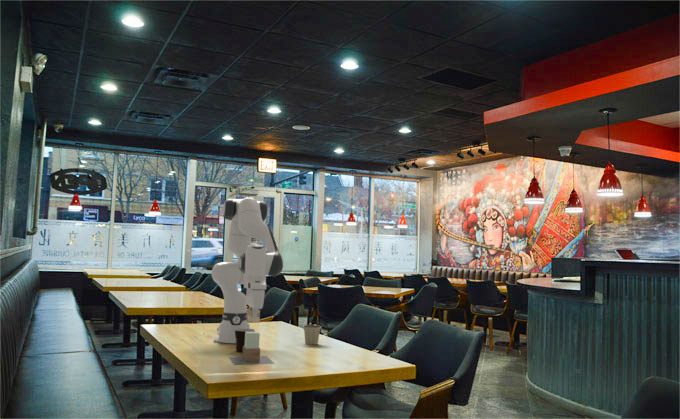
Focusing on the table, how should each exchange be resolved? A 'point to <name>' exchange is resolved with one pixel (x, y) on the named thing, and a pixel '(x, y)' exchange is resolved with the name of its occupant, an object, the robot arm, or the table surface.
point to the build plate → (240, 361)
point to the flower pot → (311, 334)
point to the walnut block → (251, 354)
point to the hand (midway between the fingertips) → (253, 317)
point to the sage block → (252, 340)
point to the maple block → (249, 316)
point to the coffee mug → (241, 338)
